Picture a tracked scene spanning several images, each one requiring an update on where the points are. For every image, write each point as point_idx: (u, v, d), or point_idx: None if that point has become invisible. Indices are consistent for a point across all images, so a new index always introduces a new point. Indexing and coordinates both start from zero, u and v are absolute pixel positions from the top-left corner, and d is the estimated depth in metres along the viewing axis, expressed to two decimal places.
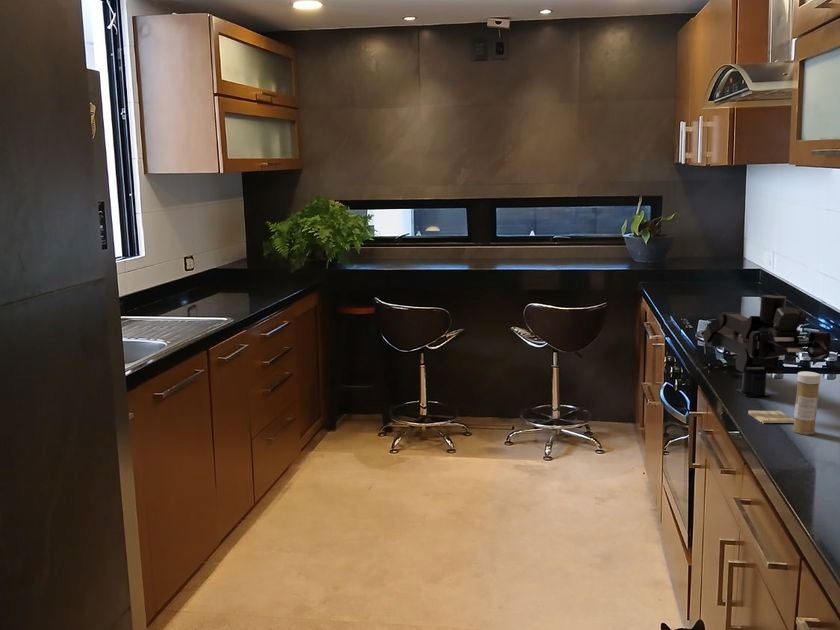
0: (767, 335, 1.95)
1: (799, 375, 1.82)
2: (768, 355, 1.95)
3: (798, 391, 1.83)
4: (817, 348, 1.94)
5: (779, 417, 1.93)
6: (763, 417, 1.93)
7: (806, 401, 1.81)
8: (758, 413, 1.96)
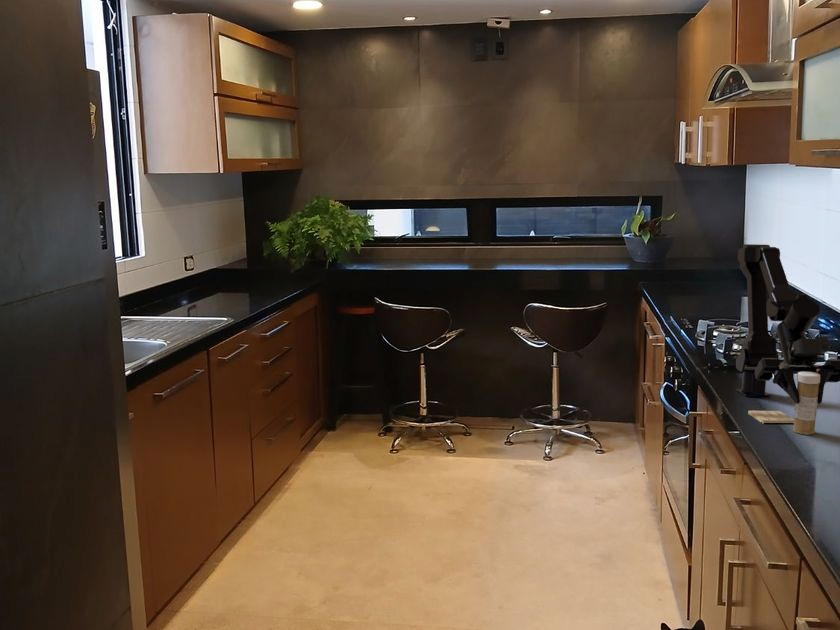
0: (787, 371, 1.84)
1: (799, 375, 1.82)
2: (782, 386, 1.87)
3: (798, 391, 1.83)
4: None
5: (779, 417, 1.93)
6: (763, 417, 1.93)
7: (806, 401, 1.81)
8: (758, 413, 1.96)
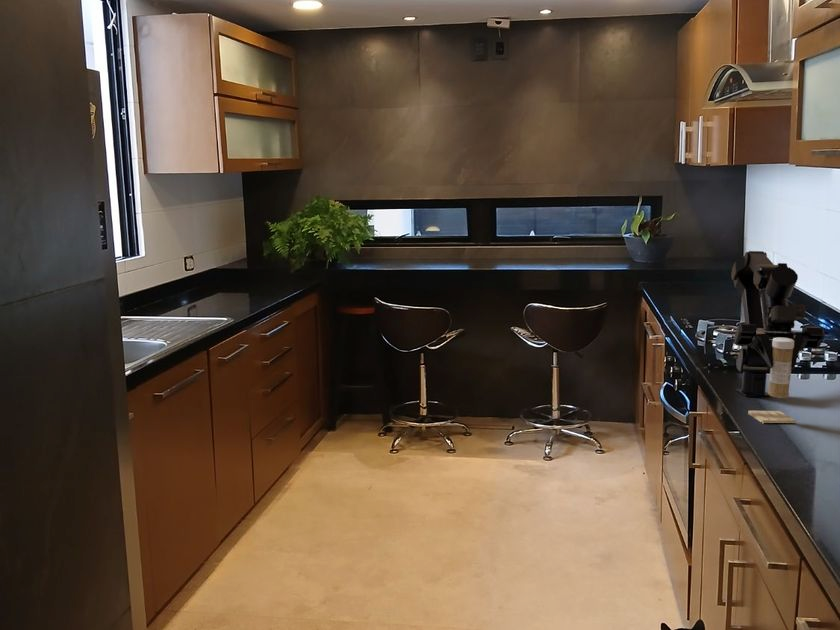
0: (763, 336, 1.92)
1: (773, 340, 1.90)
2: (759, 351, 1.95)
3: (772, 356, 1.91)
4: None
5: (779, 417, 1.93)
6: (763, 417, 1.93)
7: (779, 365, 1.89)
8: (758, 413, 1.96)
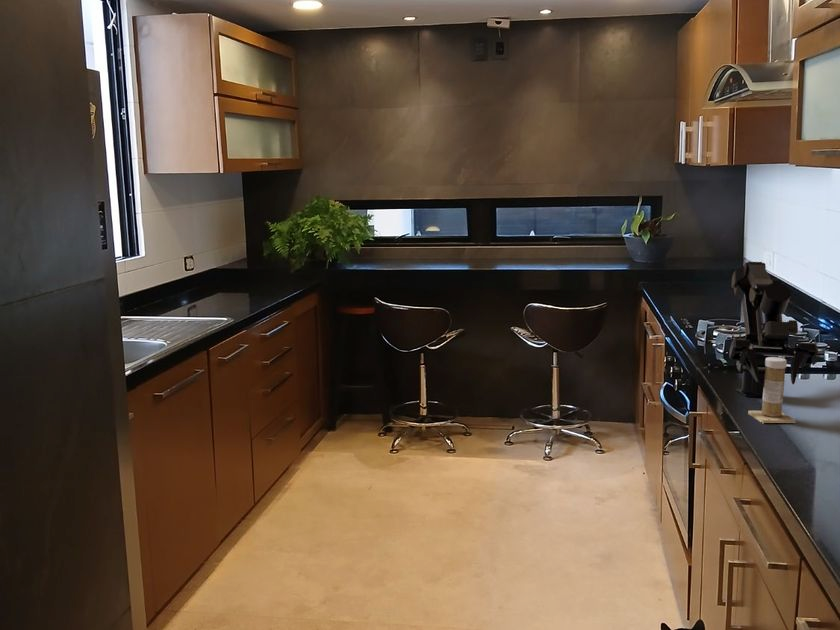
0: (749, 351, 1.95)
1: (766, 360, 1.93)
2: (747, 366, 1.98)
3: (765, 375, 1.94)
4: (792, 367, 1.94)
5: (779, 417, 1.93)
6: (763, 417, 1.93)
7: (772, 385, 1.92)
8: (758, 413, 1.96)
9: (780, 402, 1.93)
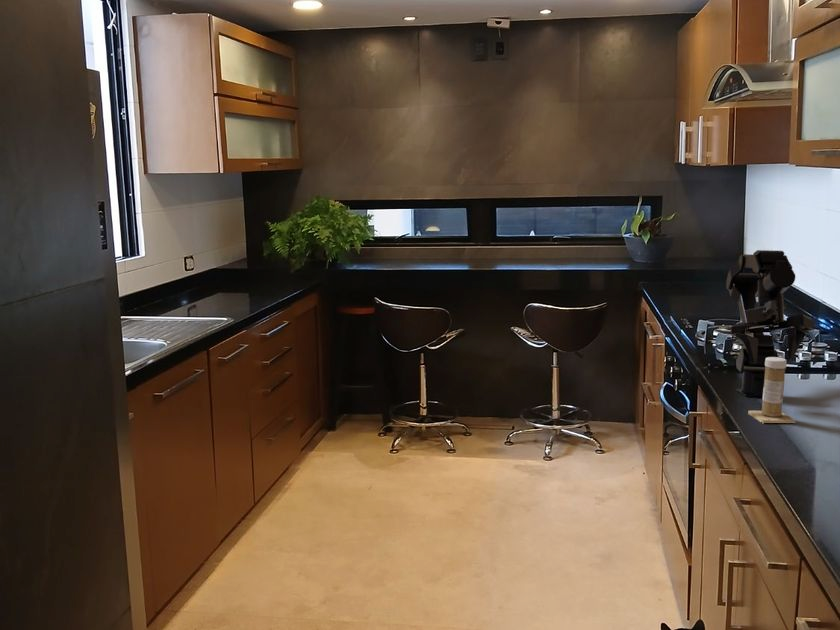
0: (741, 337, 2.06)
1: (766, 360, 1.93)
2: None
3: (765, 375, 1.94)
4: None
5: (779, 417, 1.93)
6: (763, 417, 1.93)
7: (772, 385, 1.92)
8: (758, 413, 1.96)
9: (780, 402, 1.93)
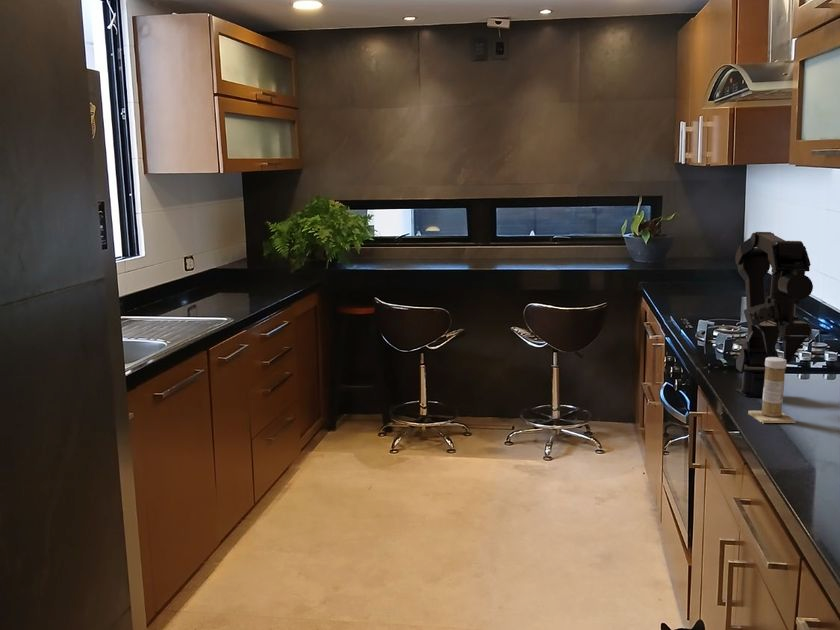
0: (757, 327, 2.04)
1: (766, 360, 1.93)
2: None
3: (765, 375, 1.94)
4: None
5: (779, 417, 1.93)
6: (763, 417, 1.93)
7: (772, 385, 1.92)
8: (758, 413, 1.96)
9: (780, 402, 1.93)
